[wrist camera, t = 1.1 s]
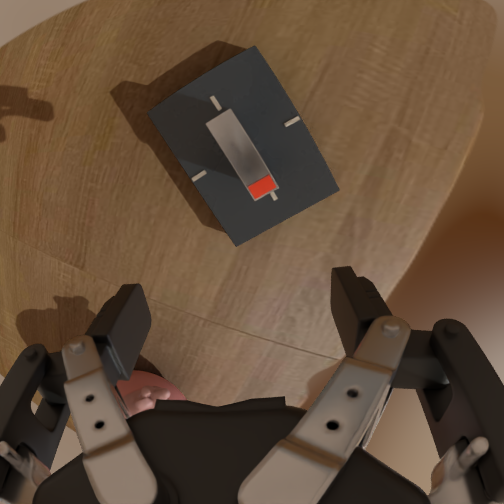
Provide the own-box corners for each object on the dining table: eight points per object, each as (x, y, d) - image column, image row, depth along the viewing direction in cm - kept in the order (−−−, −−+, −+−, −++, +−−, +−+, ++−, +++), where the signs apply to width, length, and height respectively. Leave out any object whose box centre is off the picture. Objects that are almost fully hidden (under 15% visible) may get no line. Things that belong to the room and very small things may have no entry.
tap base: (154, 112, 26) (145, 112, 24) (254, 51, 24) (255, 44, 21) (237, 237, 31) (235, 248, 29) (333, 184, 29) (340, 190, 27)
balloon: (238, 361, 39) (234, 464, 25) (176, 424, 46) (163, 500, 32) (132, 306, 35) (83, 403, 21) (94, 384, 42) (63, 459, 28)
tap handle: (214, 122, 24) (204, 123, 19) (234, 110, 24) (230, 108, 19) (254, 185, 27) (254, 202, 21) (273, 173, 26) (279, 188, 21)
